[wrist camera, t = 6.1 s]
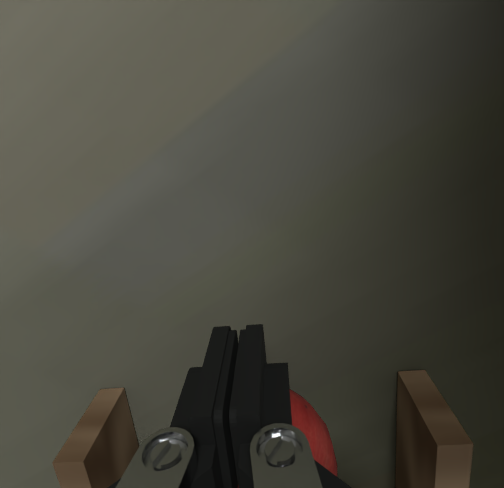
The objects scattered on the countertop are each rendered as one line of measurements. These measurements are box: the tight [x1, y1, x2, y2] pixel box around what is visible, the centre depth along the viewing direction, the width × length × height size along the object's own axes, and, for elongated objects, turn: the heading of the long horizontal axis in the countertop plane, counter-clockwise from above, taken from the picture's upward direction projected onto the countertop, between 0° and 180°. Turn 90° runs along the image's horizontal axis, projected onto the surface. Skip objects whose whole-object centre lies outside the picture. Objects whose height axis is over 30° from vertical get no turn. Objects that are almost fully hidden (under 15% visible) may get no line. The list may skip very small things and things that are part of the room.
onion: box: [238, 389, 337, 488], centre depth 13 cm, size 6×6×8 cm
